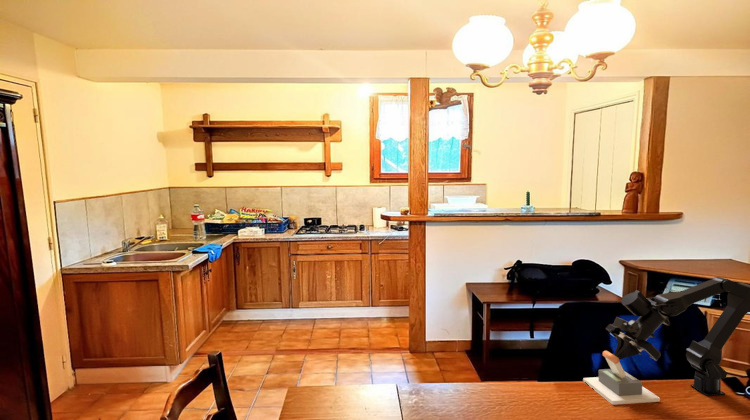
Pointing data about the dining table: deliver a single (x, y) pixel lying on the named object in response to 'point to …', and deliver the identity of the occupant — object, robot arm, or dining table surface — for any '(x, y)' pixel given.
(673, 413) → the dining table surface
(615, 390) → the box
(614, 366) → the breaker lever
